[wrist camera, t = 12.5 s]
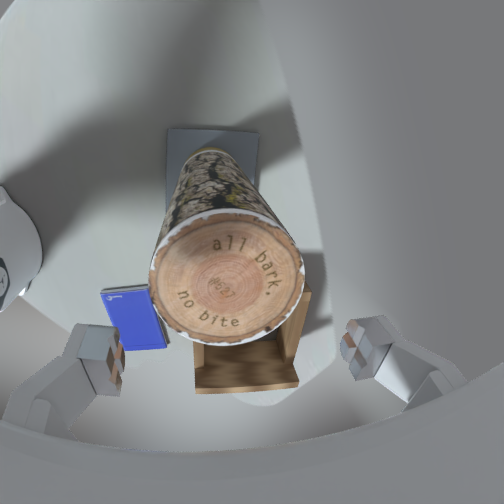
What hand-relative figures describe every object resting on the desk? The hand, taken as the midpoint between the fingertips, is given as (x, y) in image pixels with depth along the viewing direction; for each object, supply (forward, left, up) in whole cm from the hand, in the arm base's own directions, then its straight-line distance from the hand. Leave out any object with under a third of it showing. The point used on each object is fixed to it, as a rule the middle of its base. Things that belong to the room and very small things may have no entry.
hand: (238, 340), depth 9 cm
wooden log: (0, 0, -28) cm, 28 cm away
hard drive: (-12, -24, -30) cm, 40 cm away
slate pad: (0, 0, -29) cm, 29 cm away
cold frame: (+6, -22, -29) cm, 37 cm away
